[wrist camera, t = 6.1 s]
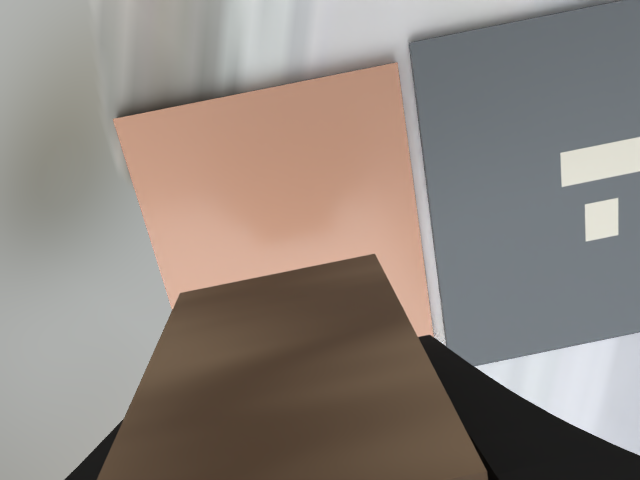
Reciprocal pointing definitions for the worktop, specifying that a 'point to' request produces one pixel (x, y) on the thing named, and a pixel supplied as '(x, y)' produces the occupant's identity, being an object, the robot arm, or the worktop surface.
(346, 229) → the tile
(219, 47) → the worktop surface
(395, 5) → the worktop surface
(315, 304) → the walnut block
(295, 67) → the worktop surface
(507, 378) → the worktop surface
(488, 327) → the mat
